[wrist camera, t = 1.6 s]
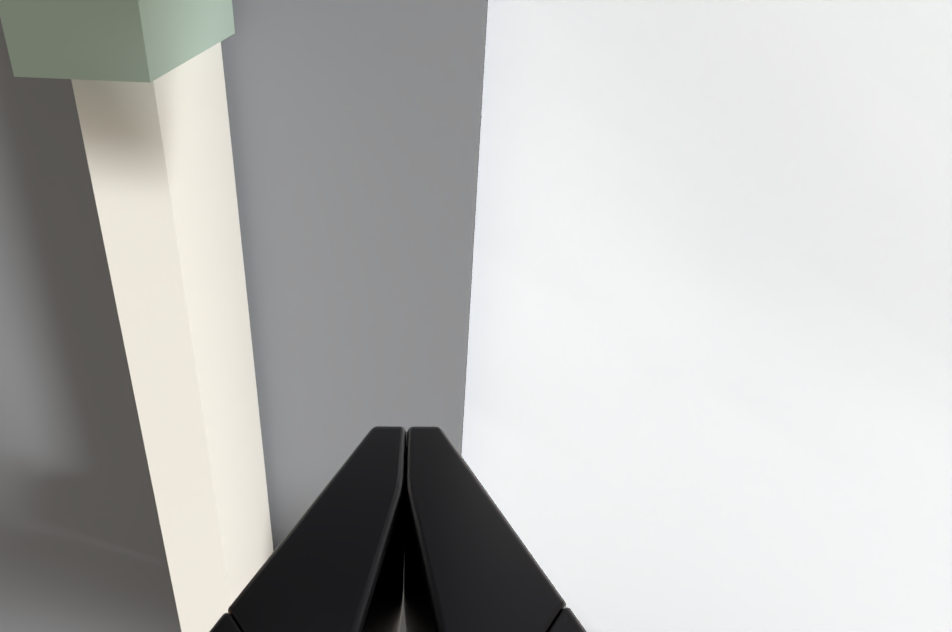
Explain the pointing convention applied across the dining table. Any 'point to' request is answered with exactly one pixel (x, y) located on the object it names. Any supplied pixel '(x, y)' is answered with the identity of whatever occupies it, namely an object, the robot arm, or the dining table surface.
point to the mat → (267, 283)
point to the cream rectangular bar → (170, 265)
